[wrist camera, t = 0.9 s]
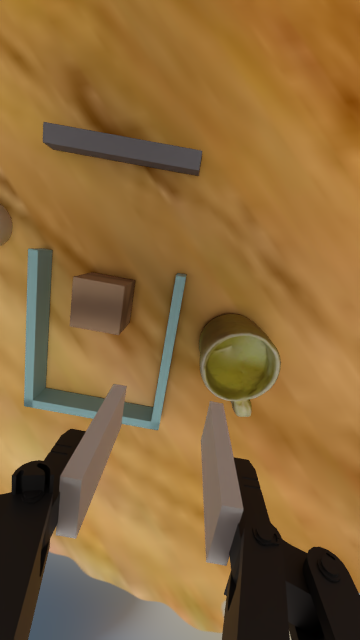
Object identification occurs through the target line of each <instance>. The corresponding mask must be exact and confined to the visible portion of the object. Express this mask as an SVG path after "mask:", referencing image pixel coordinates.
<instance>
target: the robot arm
mask: <svg viewBox="0 0 360 640" xmlns="http://www.w3.org/2000/svg"><path fill="white" fill-rule="evenodd" d="M126 387H127V386H123V385H117V384H113V386H112V388H111V389H110V391H109V393H108V395H107V396H106V398H105V400H104V401H103V403H102V405H101V407H100V408H99V410H98V412H97V414H96V415H95V417H94V419H93V420H92V422H91V424H90V426H89V427H88V429H87V431H81V430H75V429H70V430H68V431H67V432H65V433H64V434H63V435H61V437H60V438H59V440H58V441H57V442H56V444H55V445H54V447H53V448H52V450H51V452H49V454H48V455H47V457H46V458H45V460H44V461H40V460H38V461H31V462H29V463H26V464H24V465H22V466H21V467H19V468H18V469H17V470H16V471H15V472H14V474H13V475H12V492H10V493H6V494H0V640H28V637H29V633H30V628H31V624H32V620H33V616H34V612H35V607H36V603H37V599H38V594H39V590H40V585H41V581H42V577H43V573H44V569H45V564H46V560H47V556H48V552H49V547H50V538H51V535H52V533H53V531H54V529H55V527H56V525H57V527H56V535H59V536H65V537H70V538H76V537H77V535H78V532H79V530H80V527H81V525H82V522H83V520H84V517H85V515H86V512H87V510H88V507H89V505H90V503H91V500H92V498H93V495H94V493H95V490H96V488H97V485H98V483H99V480H100V478H101V475H102V473H103V470H104V468H105V465H106V463H107V460H108V458H109V455H110V453H111V450H112V448H113V445H114V443H115V440H116V438H117V435H118V433H119V430H120V428H121V424H122V416H123V409H124V402H125V394H126ZM201 451H202V474H203V498H204V521H205V544H206V562H209V563H214V564H220V565H227V562H228V559H229V555H230V563H231V573H230V576H229V579H228V583H227V586H226V589H225V592H224V595H226V596H227V598H226V607H225V616H224V625H223V634H222V640H290V638H289V631H290V635H291V639H292V640H360V595H359V593H358V591H357V589H356V587H355V584H354V582H353V580H352V578H351V576H350V574H349V572H348V570H347V569H346V567H345V565H344V564H343V563H342V562H341V561H340V559H339V558H338V557H337V556H336V555H334V554H333V553H331V552H330V551H329V550H327V549H324V548H321V547H313V548H311V549H310V550H309V551H308V553H306V552H304V551H302V550H300V549H298V548H296V547H294V546H292V545H290V544H288V543H287V542H285V541H284V540H283V539H282V538H281V535H280V534H279V532H278V530H277V529H276V528H275V527H274V526H273V525H272V524H271V523H270V520H269V517H268V513H267V509H266V506H265V502H264V499H263V495H262V492H261V490H260V485H259V481H258V478H257V474H256V470H255V468H254V467H253V466H252V464H251V463H250V461H249V460H245V459H240V458H234V457H233V453H232V447H231V442H230V437H229V432H228V427H227V422H226V417H225V411H224V406H223V404H222V403H217V402H211V401H210V404H209V408H208V413H207V417H206V421H205V426H204V430H203V434H202V439H201Z"/></svg>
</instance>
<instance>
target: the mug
mask: <svg viewBox="0 0 360 640" xmlns="http://www.w3.org/2000/svg"><path fill="white" fill-rule="evenodd" d="M199 351H200V372H201V376H202V379H203V381H204V383H205V385H206V387H207V388H208V389H209V390H210V391H211V392H212V393H213V394H214V395H216V396H217V397H219V398H221V399H223V400H228V401H231V403H232V408H233V410H234V412H235V414H236V415H237V416H240V417H244V416H246V417H248V416H250V415H251V402H250V399H252V398H256V397H258V396H260V395H262V394H263V393H265V392H266V391H268V390H269V389H270V388H271V387H272V386H273V385H274V383H275V382H276V380H277V378H278V375H279V372H280V365H281V361H280V355H279V352H278V350H277V348H276V347H275V346H274V344H273V343H272V342H271V340H270V339H269V337H268V336H267V335H266V334H265V333H264V332H263V331H262V330H261V329H260V328H259V327H258V326H257V325H256V324H255V323H254V322H253V321H251V320H250V319H248V318H246V317H244V316H242V315H238V314H225V315H221V316H219V317H216V318H214V319H213V320H211V321H210V322H209V323H208V324H207V325H206V326H205V327H204V329H203V331H202V333H201V336H200V340H199Z"/></svg>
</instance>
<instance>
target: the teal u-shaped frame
mask: <svg viewBox="0 0 360 640" xmlns="http://www.w3.org/2000/svg"><path fill="white" fill-rule="evenodd" d="M51 270H52V250H49V249H28V278H27V316H26V355H25V393H24V406H26V407H32V408H37V409H43V410H49V411H54V412H60V413H65V414H71V415H76V416H82V417H87V418H93V419H94V417H95V415H96V414H97V412H98V410H99V408H100V407H101V405H102V403H103V401H104V400H105V399H104V398H99V397H93V396H88V395H82V394H77V393H71V392H66V391H60V390H55V389H49V388H46V372H47V351H48V331H49V311H50V290H51ZM185 280H186V274H181V273H177V275H176V279H175V285H174V291H173V297H172V303H171V308H170V314H169V320H168V326H167V332H166V338H165V344H164V350H163V355H162V361H161V367H160V373H159V379H158V385H157V391H156V397H155V402H154V407H149V406H143V405H138V404H132V403H127V402H124V409H123V416H122V424H126V425H132V426H137V427H143V428H148V429H154V430H158V429H159V424H160V419H161V413H162V408H163V402H164V397H165V391H166V386H167V380H168V374H169V369H170V363H171V358H172V352H173V347H174V341H175V336H176V330H177V324H178V319H179V313H180V308H181V302H182V297H183V291H184V286H185Z"/></svg>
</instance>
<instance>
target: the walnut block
mask: <svg viewBox="0 0 360 640" xmlns="http://www.w3.org/2000/svg"><path fill="white" fill-rule="evenodd" d="M134 287H135V280H131V279H125V278H120V277H114V276H109V275H103V274H98V273H92V272H91V273H87V274H83V275H79V276H75V277H73V288H72V302H71V316H70V326H71V327H77V328H82V329H88V330H93V331H99V332H104V333H110V334H115V335H119V334H120V333H121V332H122V331H123V330H124V328H125V327H126V326H127V325H128V324H129V323H130V317H131V309H132V302H133V294H134Z"/></svg>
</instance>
